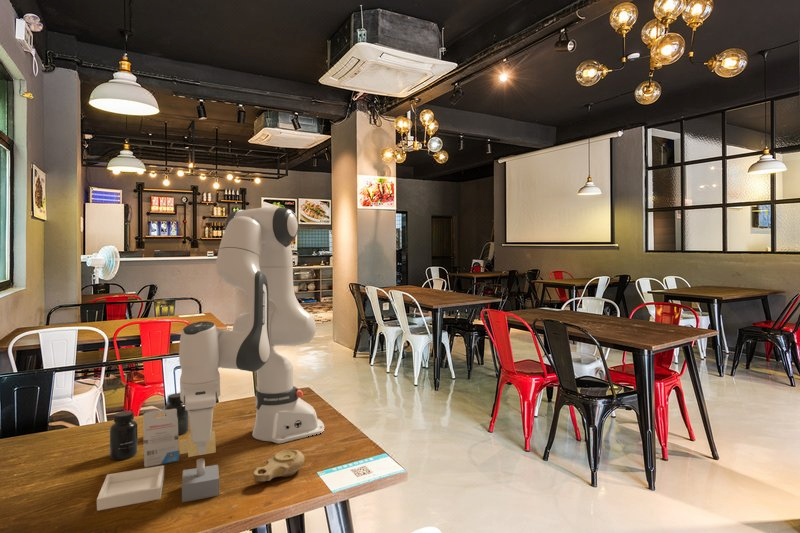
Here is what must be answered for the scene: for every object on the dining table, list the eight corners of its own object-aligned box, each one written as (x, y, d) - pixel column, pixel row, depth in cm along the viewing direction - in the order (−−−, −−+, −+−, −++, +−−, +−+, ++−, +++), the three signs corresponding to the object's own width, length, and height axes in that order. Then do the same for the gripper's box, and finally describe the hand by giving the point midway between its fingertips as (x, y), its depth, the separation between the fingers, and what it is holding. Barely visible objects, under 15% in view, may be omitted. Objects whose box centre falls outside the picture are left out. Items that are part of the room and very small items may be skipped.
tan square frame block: (215, 442, 116) (214, 430, 116) (215, 452, 111) (215, 440, 111) (180, 447, 113) (179, 435, 113) (179, 458, 108) (178, 446, 108)
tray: (164, 475, 120) (164, 465, 120) (160, 498, 108) (160, 487, 108) (107, 484, 115) (107, 474, 115) (96, 510, 103) (96, 499, 103)
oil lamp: (250, 489, 113) (250, 469, 112) (270, 463, 127) (270, 445, 127) (293, 491, 112) (293, 470, 112) (308, 464, 126) (308, 446, 126)
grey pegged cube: (218, 480, 117) (217, 450, 117) (219, 495, 110) (218, 464, 110) (183, 486, 114) (182, 456, 114) (182, 502, 107) (181, 470, 106)
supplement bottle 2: (165, 430, 150) (164, 393, 150) (188, 426, 153) (187, 390, 153) (165, 437, 144) (164, 399, 144) (189, 434, 147) (188, 396, 147)
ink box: (178, 454, 132) (177, 403, 132) (178, 461, 128) (178, 408, 128) (144, 460, 128) (143, 407, 128) (143, 467, 124) (142, 413, 124)
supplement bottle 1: (125, 461, 128) (124, 418, 127) (103, 459, 129) (103, 416, 129) (143, 451, 134) (142, 410, 134) (123, 449, 136) (122, 408, 135)
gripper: (187, 379, 120) (188, 432, 121) (184, 406, 101) (186, 467, 102) (213, 377, 122) (214, 428, 123) (215, 402, 104) (217, 462, 104)
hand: (202, 446), depth 112 cm, fingers closed on tan square frame block, 6 cm apart
